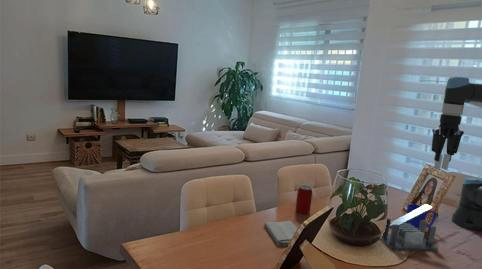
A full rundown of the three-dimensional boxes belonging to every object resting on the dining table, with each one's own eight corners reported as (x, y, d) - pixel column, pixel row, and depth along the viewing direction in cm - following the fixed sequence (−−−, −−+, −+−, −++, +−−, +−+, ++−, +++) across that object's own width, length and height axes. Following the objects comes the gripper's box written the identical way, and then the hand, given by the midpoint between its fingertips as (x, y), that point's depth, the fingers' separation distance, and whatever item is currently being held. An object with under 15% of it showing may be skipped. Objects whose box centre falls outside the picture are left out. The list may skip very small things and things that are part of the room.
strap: (426, 205, 144) (425, 202, 144) (433, 209, 140) (432, 206, 140) (386, 226, 143) (385, 223, 143) (392, 230, 139) (391, 228, 139)
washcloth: (277, 247, 131) (278, 240, 130) (262, 226, 148) (263, 219, 147) (306, 246, 134) (307, 238, 133) (288, 225, 151) (289, 218, 150)
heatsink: (418, 236, 151) (421, 216, 149) (437, 250, 139) (442, 229, 138) (375, 235, 148) (378, 215, 146) (391, 250, 136) (395, 228, 134)
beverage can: (311, 211, 168) (314, 187, 166) (306, 215, 162) (309, 190, 160) (298, 207, 171) (301, 184, 169) (293, 211, 166) (296, 187, 164)
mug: (435, 235, 154) (439, 213, 152) (406, 230, 156) (410, 209, 154) (429, 227, 162) (433, 207, 160) (401, 223, 164) (405, 202, 162)
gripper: (461, 114, 151) (450, 167, 155) (428, 111, 148) (418, 165, 152) (475, 117, 143) (463, 172, 148) (440, 114, 141) (429, 170, 145)
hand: (440, 168), depth 150 cm, fingers open, 3 cm apart
